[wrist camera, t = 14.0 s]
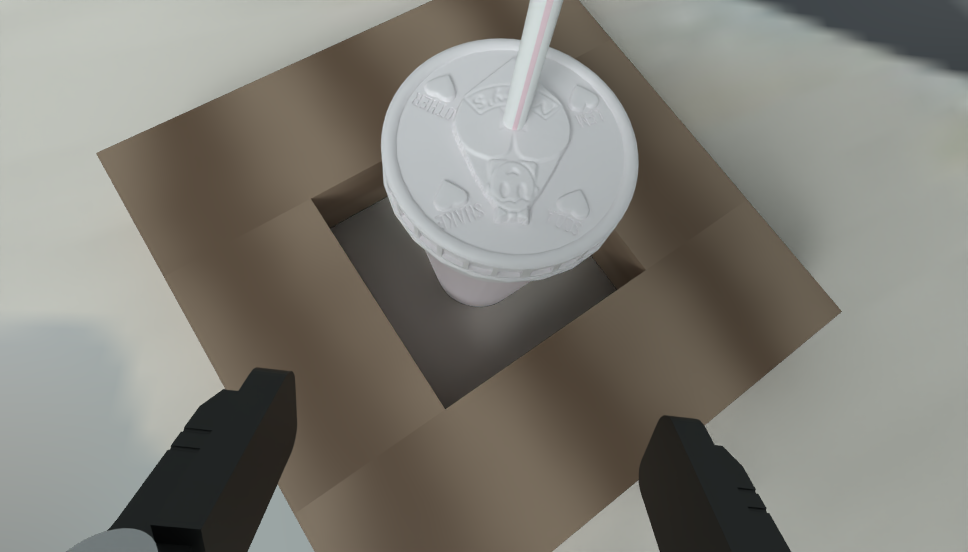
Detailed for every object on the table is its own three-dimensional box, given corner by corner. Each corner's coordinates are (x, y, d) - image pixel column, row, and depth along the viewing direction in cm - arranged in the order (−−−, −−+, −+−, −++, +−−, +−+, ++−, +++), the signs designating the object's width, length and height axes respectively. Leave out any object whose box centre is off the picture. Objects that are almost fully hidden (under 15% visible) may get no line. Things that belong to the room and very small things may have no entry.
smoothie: (550, 201, 22) (728, -132, 9) (553, 341, 20) (783, 194, 7) (408, 192, 22) (364, -178, 8) (397, 336, 20) (320, 165, 6)
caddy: (526, 5, 25) (538, -48, 22) (787, 326, 22) (841, 311, 19) (143, 190, 20) (96, 153, 18) (396, 640, 17) (388, 686, 14)
